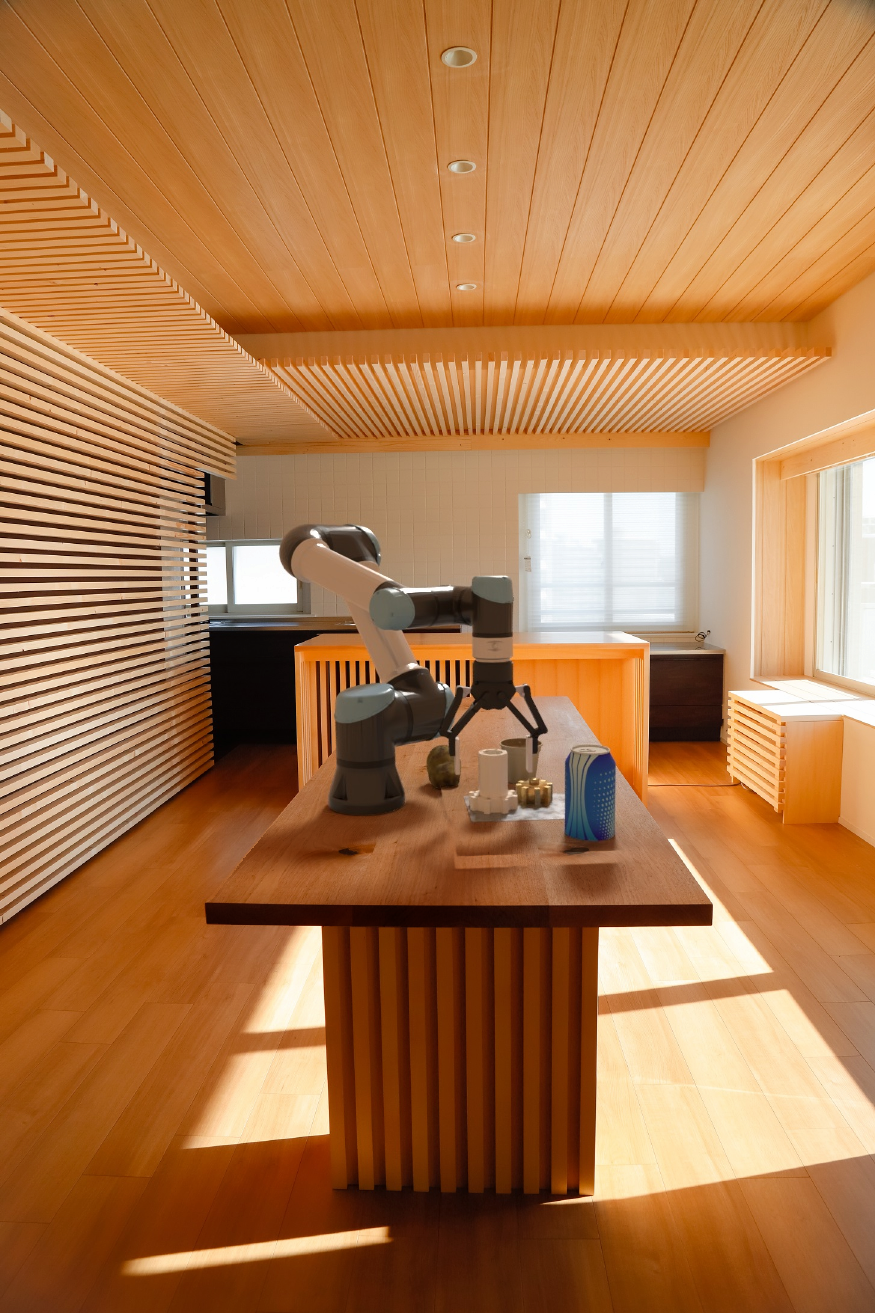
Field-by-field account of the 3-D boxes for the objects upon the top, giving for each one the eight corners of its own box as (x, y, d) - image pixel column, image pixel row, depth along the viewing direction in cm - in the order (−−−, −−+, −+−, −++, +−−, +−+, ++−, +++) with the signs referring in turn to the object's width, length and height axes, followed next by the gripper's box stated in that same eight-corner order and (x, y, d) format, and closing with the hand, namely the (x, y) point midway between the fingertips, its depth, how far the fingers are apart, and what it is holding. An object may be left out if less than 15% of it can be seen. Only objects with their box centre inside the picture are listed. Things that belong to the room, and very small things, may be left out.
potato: (418, 793, 166) (418, 755, 165) (430, 776, 179) (429, 741, 178) (458, 794, 165) (458, 756, 164) (467, 778, 177) (466, 742, 177)
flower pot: (541, 788, 169) (541, 748, 168) (496, 786, 170) (496, 746, 169) (544, 776, 178) (544, 738, 177) (502, 775, 180) (501, 737, 179)
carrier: (472, 830, 143) (471, 797, 142) (463, 803, 159) (463, 773, 158) (593, 826, 144) (594, 793, 144) (573, 799, 160) (573, 770, 159)
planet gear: (472, 814, 147) (471, 758, 146) (467, 800, 156) (466, 747, 154) (520, 813, 147) (520, 757, 146) (512, 799, 156) (512, 746, 155)
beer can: (580, 829, 143) (580, 741, 141) (623, 839, 137) (624, 747, 136) (555, 842, 136) (555, 750, 134) (599, 853, 131) (600, 757, 129)
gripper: (426, 663, 144) (428, 779, 146) (563, 660, 145) (563, 775, 148) (424, 658, 151) (425, 768, 154) (555, 655, 153) (554, 764, 155)
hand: (493, 772), depth 151 cm, fingers open, 13 cm apart
